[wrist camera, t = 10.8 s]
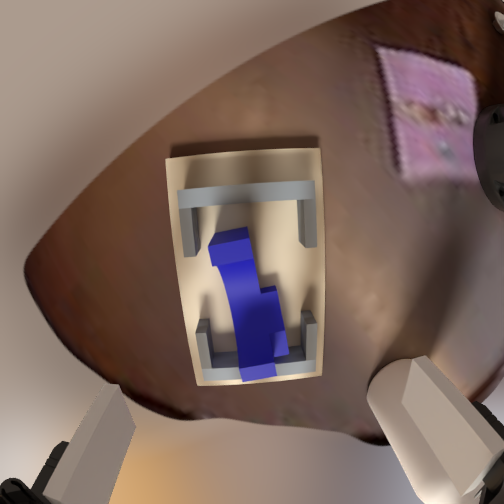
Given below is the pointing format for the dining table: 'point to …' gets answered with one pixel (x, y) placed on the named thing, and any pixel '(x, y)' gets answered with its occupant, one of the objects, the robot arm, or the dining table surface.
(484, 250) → the dining table surface
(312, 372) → the board
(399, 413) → the alcohol
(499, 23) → the screw
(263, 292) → the cable clip
